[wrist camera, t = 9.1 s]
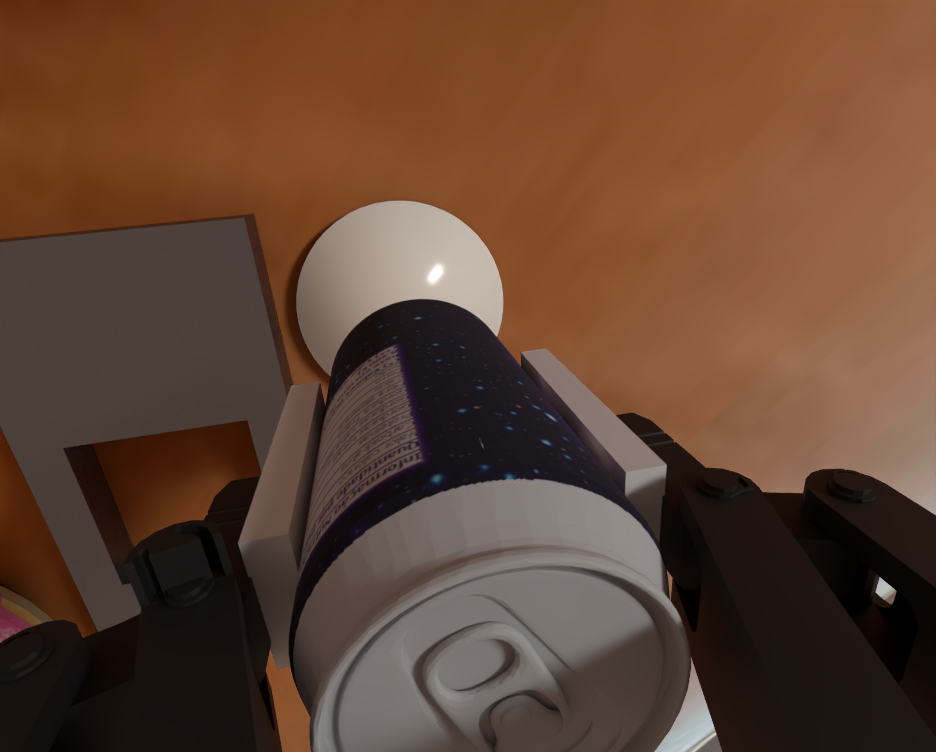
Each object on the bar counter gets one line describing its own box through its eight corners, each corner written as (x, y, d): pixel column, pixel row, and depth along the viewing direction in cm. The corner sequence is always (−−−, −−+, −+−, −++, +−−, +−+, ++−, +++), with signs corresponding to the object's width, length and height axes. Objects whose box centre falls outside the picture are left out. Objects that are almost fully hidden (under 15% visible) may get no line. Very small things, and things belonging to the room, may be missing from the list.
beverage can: (388, 478, 19) (425, 913, 8) (295, 348, 16) (160, 702, 5) (527, 401, 19) (764, 729, 8) (453, 259, 16) (638, 437, 5)
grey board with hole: (-46, 243, 22) (-84, 250, 20) (253, 214, 23) (244, 217, 22) (128, 633, 30) (113, 664, 28) (340, 591, 32) (339, 617, 30)
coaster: (276, 211, 24) (274, 212, 23) (493, 190, 25) (496, 190, 24) (319, 411, 27) (318, 416, 27) (505, 383, 29) (508, 387, 28)
